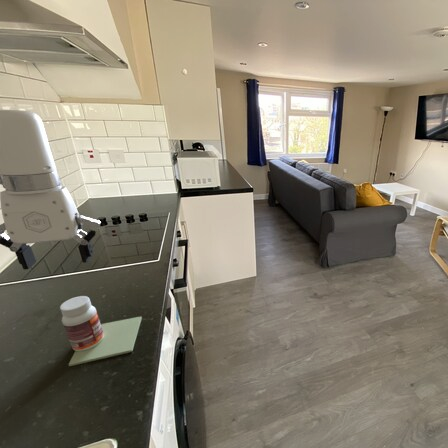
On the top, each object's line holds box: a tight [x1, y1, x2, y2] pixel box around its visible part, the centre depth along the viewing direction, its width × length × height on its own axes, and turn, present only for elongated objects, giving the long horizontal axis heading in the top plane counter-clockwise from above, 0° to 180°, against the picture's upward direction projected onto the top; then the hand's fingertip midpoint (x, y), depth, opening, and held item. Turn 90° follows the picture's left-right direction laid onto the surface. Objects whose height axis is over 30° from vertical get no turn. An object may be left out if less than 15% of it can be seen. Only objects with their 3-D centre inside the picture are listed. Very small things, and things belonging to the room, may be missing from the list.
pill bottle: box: [59, 295, 104, 351], centre depth 60 cm, size 6×6×11 cm
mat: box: [68, 316, 143, 367], centre depth 64 cm, size 12×12×1 cm
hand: (59, 262), depth 55 cm, fingers open, 9 cm apart
